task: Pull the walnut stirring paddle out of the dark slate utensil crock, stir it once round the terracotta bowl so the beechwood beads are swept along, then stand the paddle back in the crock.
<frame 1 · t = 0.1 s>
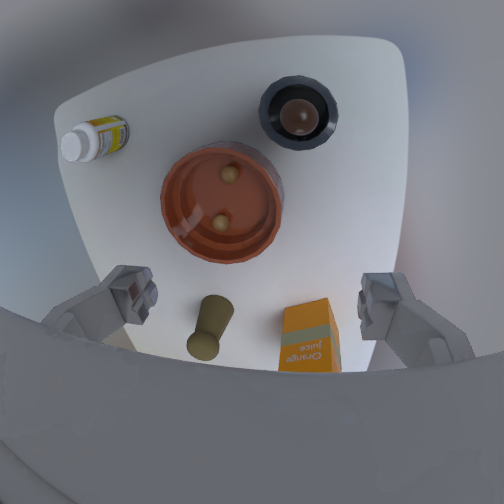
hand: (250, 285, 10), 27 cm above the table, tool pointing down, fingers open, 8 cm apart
crock: (298, 110, 29), on the table
bead b: (220, 223, 37), point 2 cm above the table, touching bowl
olive game pawn: (217, 307, 48), on the table
supplement bottle: (116, 132, 34), on the table
bead a: (229, 174, 33), point 2 cm above the table, touching bowl
orange juice: (313, 319, 46), on the table
stir paddle: (298, 110, 29), point 1 cm above the table, touching crock
bowl: (228, 195, 37), on the table
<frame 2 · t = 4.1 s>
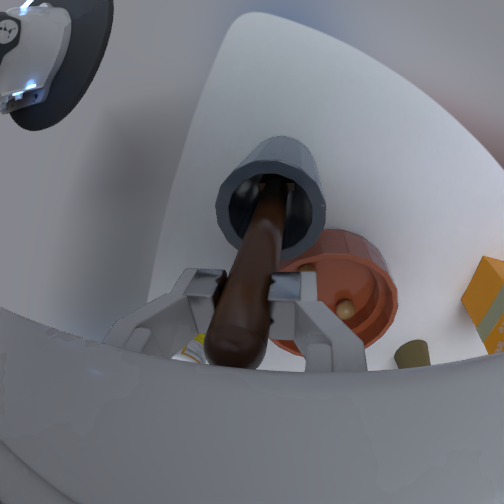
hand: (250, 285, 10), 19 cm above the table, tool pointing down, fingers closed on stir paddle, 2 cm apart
crock: (282, 167, 26), on the table
bead b: (345, 309, 31), point 2 cm above the table, touching bowl
olive game pawn: (410, 351, 36), on the table
supplement bottle: (198, 326, 40), on the table
bead a: (306, 275, 29), point 2 cm above the table, touching bowl
orange juice: (489, 280, 27), on the table
stir paddle: (281, 169, 25), point 1 cm above the table, touching crock, gripper
bowl: (326, 284, 32), on the table
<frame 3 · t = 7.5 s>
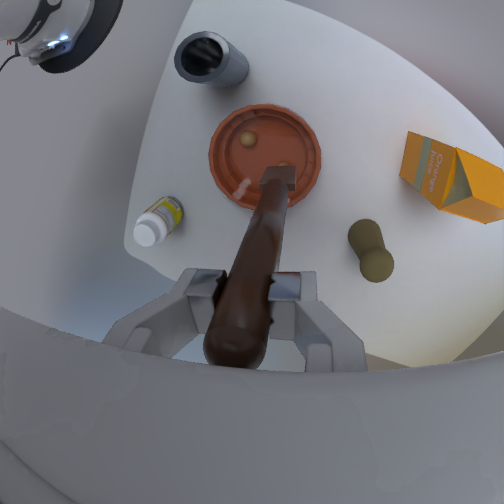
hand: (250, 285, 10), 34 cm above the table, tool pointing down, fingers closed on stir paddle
crock: (227, 68, 33), on the table
bead b: (284, 170, 39), point 2 cm above the table, touching bowl
olive game pawn: (364, 234, 44), on the table
supplement bottle: (171, 209, 47), on the table
bead a: (248, 139, 37), point 2 cm above the table, touching bowl
orange juice: (425, 159, 35), on the table
stir paddle: (281, 169, 25), point 16 cm above the table, touching gripper
bowl: (267, 152, 39), on the table
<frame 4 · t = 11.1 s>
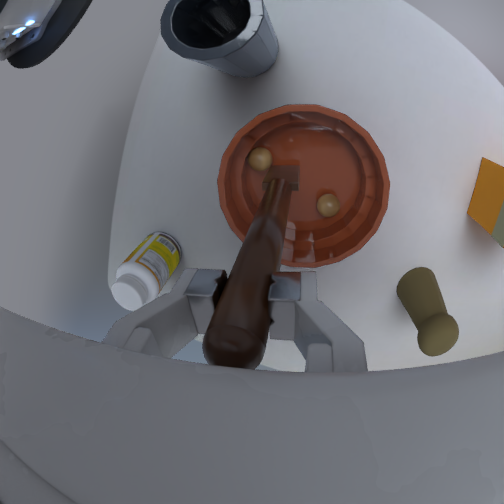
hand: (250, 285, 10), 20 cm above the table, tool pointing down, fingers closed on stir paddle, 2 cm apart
crock: (246, 49, 21), on the table
bead b: (328, 205, 26), point 2 cm above the table, touching bowl
olive game pawn: (416, 284, 32), on the table
supplement bottle: (164, 248, 35), on the table
bead a: (260, 159, 25), point 2 cm above the table, tilted 79°, touching bowl
orange juice: (495, 193, 23), on the table
stir paddle: (285, 168, 25), point 2 cm above the table, touching gripper
bowl: (303, 176, 27), on the table
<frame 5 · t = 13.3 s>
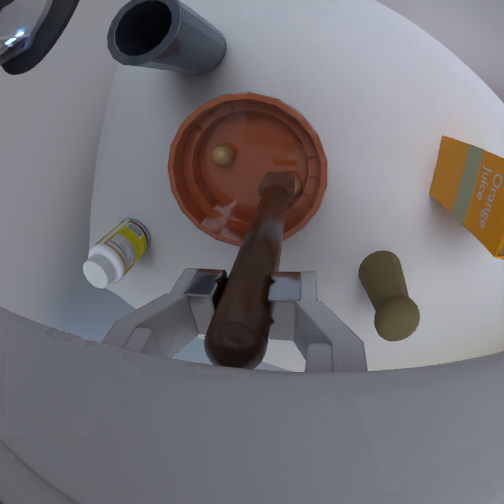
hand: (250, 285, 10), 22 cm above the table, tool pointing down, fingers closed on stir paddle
crock: (197, 49, 23), on the table
bead b: (290, 185, 28), point 2 cm above the table, tilted 76°, touching bowl
olive game pawn: (379, 269, 33), on the table
supplement bottle: (135, 234, 37), on the table
bead a: (222, 155, 27), point 2 cm above the table, tilted 37°, touching bowl
orange juice: (461, 173, 24), on the table
stir paddle: (280, 175, 26), point 4 cm above the table, touching gripper
bowl: (253, 162, 29), on the table
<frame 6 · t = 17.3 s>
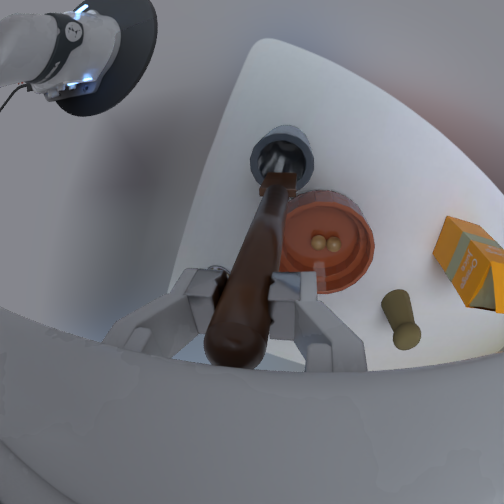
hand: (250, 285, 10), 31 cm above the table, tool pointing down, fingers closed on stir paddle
crock: (286, 146, 36), on the table
bead b: (333, 244, 41), point 2 cm above the table, tilted 66°, touching bowl
olive game pawn: (395, 301, 47), on the table
bead a: (318, 242, 41), point 2 cm above the table, tilted 133°, touching bowl
orange juice: (456, 238, 38), on the table
stir paddle: (282, 175, 26), point 13 cm above the table, touching gripper
bowl: (320, 234, 42), on the table
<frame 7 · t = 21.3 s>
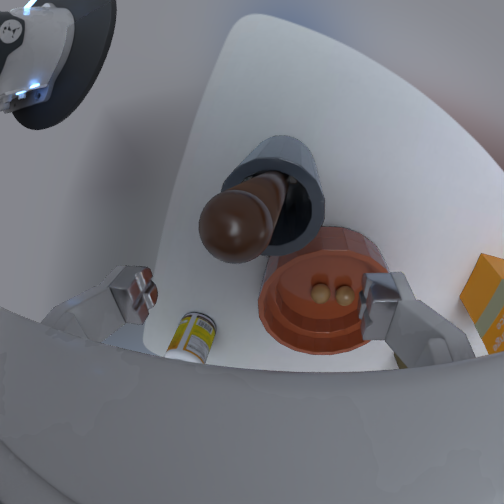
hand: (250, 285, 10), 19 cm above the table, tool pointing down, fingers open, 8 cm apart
crock: (282, 166, 26), on the table
bead b: (344, 295, 31), point 2 cm above the table, tilted 59°, touching bowl
supplement bottle: (200, 323, 40), on the table
bead a: (320, 293, 31), point 2 cm above the table, tilted 135°, touching bowl
orange juice: (487, 278, 28), on the table
stir paddle: (283, 174, 26), point 1 cm above the table, tilted 11°, touching crock
bowl: (326, 281, 32), on the table
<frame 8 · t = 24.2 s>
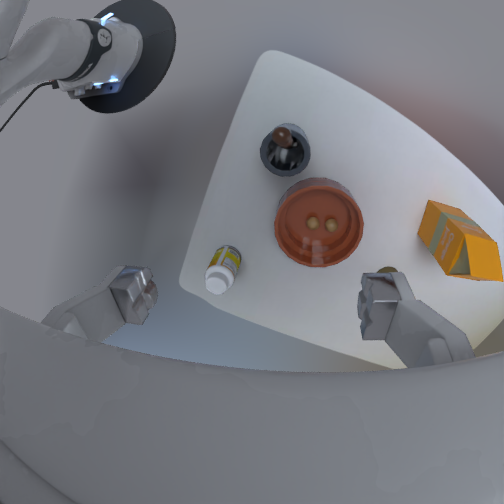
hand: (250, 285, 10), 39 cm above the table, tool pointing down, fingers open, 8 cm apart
crock: (288, 141, 43), on the table
bead b: (331, 225, 48), point 2 cm above the table, tilted 56°, touching bowl
supplement bottle: (228, 255, 57), on the table
bead a: (313, 223, 48), point 2 cm above the table, tilted 134°, touching bowl
orange juice: (439, 220, 45), on the table
stir paddle: (288, 145, 43), point 1 cm above the table, tilted 11°, touching crock
bowl: (317, 216, 49), on the table
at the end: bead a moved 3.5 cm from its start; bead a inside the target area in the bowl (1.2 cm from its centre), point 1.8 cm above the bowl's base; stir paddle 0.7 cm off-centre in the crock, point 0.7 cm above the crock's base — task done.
